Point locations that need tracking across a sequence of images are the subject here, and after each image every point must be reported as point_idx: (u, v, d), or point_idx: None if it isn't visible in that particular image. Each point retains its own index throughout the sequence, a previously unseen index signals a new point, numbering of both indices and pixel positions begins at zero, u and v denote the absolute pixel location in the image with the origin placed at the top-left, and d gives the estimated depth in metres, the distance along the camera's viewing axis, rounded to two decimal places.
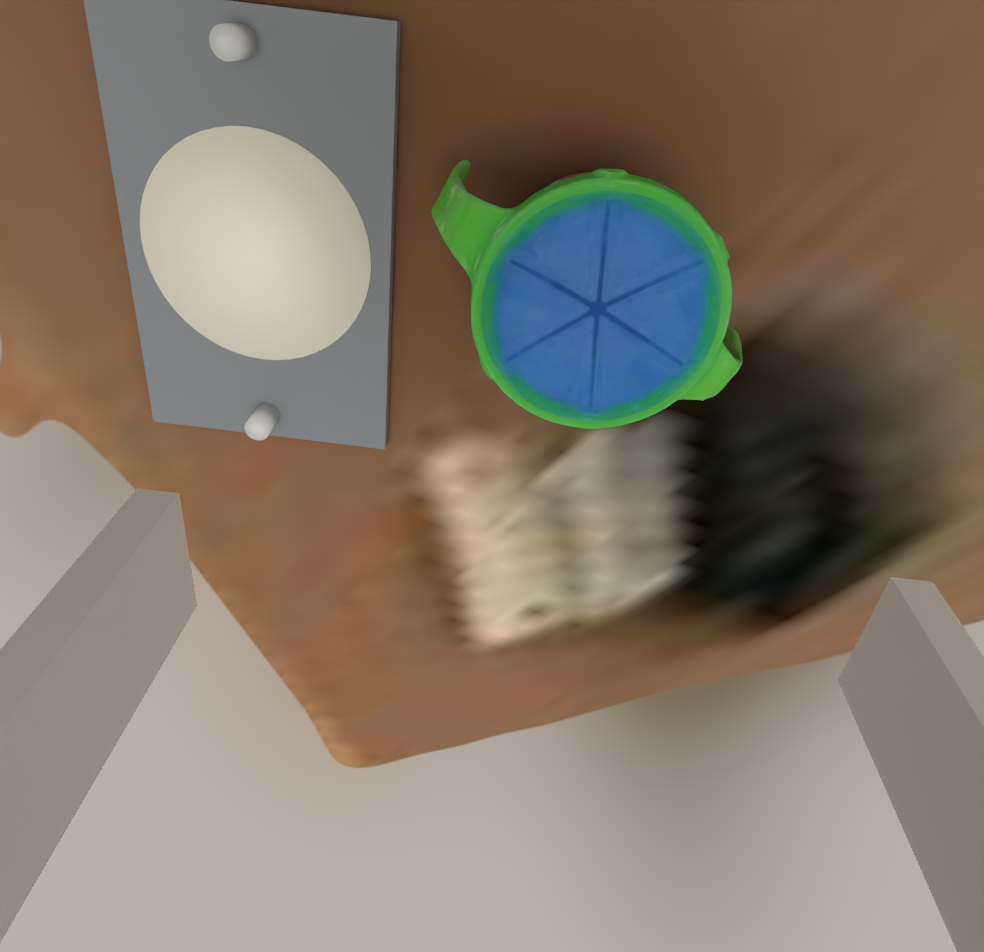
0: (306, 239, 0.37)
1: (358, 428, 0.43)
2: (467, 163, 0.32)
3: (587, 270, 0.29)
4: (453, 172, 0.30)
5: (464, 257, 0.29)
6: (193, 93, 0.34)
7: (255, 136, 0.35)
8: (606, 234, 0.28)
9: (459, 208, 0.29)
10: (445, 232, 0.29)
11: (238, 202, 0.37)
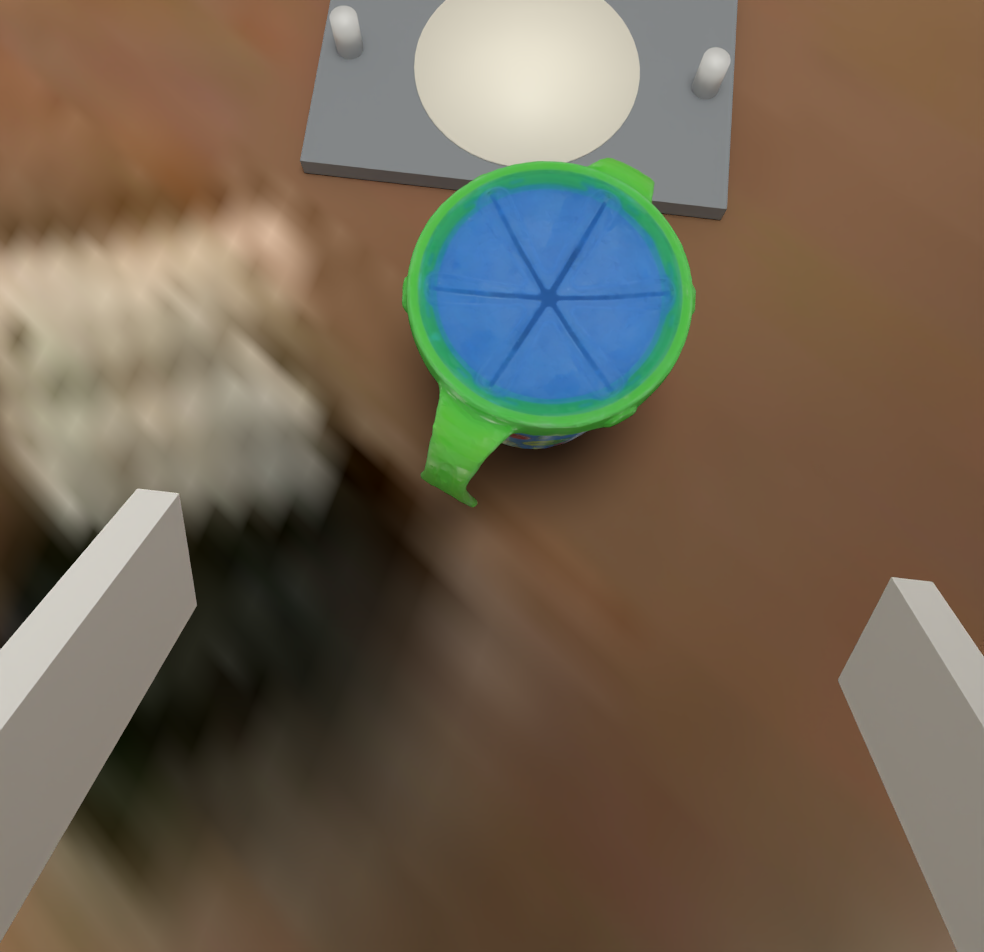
0: (541, 112, 0.38)
1: (328, 135, 0.38)
2: None
3: (592, 283, 0.27)
4: None
5: (601, 166, 0.28)
6: (663, 43, 0.39)
7: (631, 85, 0.39)
8: (632, 296, 0.27)
9: (641, 173, 0.29)
10: (616, 160, 0.29)
11: (573, 60, 0.39)
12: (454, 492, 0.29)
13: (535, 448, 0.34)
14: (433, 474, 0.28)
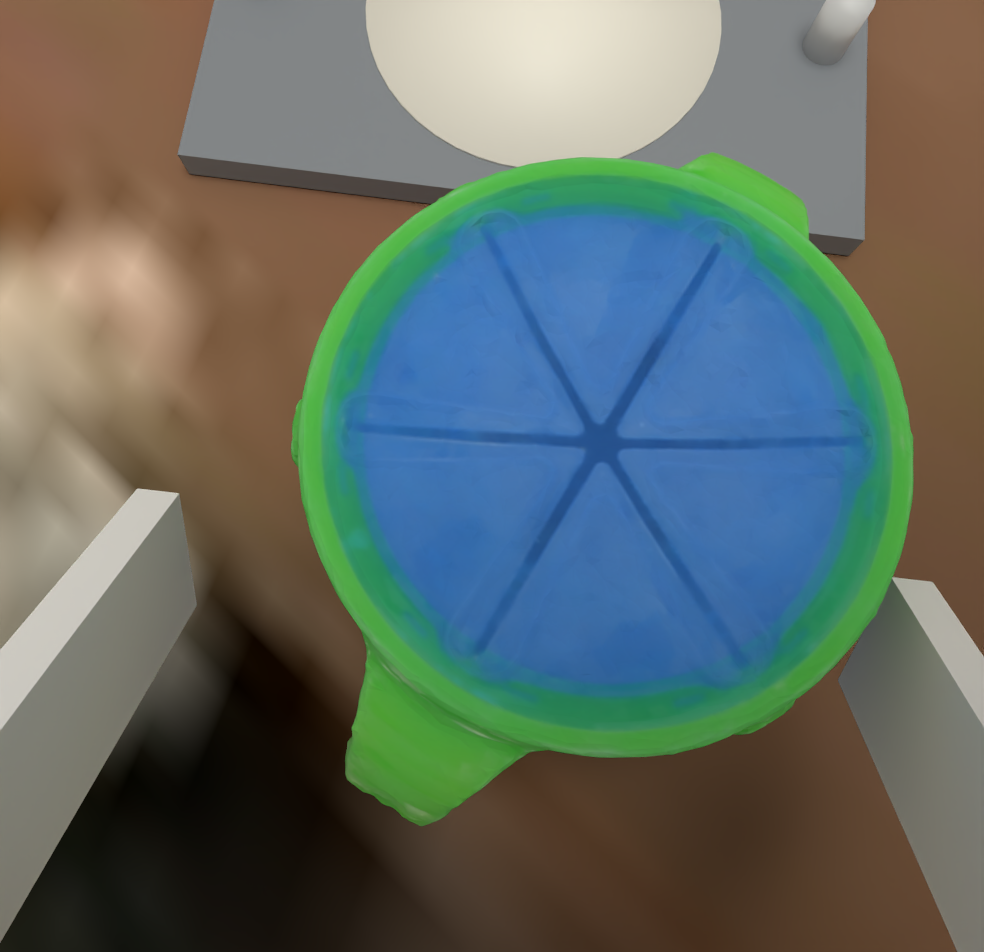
0: (567, 82, 0.24)
1: (225, 115, 0.24)
2: None
3: (692, 412, 0.13)
4: None
5: (706, 168, 0.14)
6: None
7: (707, 42, 0.25)
8: (780, 445, 0.13)
9: (777, 183, 0.15)
10: (727, 158, 0.15)
11: (616, 2, 0.25)
12: None
13: None
14: (361, 790, 0.14)
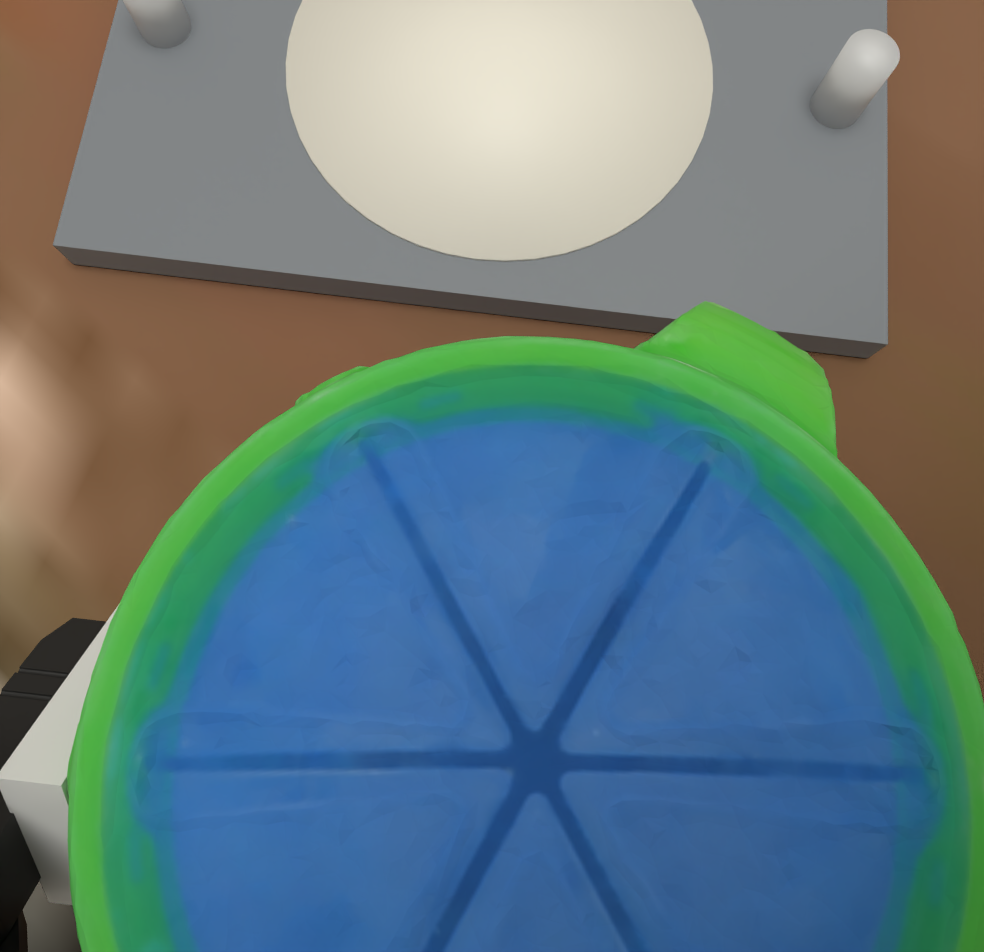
0: (527, 152, 0.20)
1: (113, 195, 0.19)
2: None
3: (668, 714, 0.09)
4: None
5: (689, 339, 0.10)
6: (755, 24, 0.21)
7: (696, 101, 0.21)
8: (798, 771, 0.09)
9: (788, 346, 0.11)
10: (719, 309, 0.11)
11: (587, 54, 0.21)
12: None
13: None
14: None
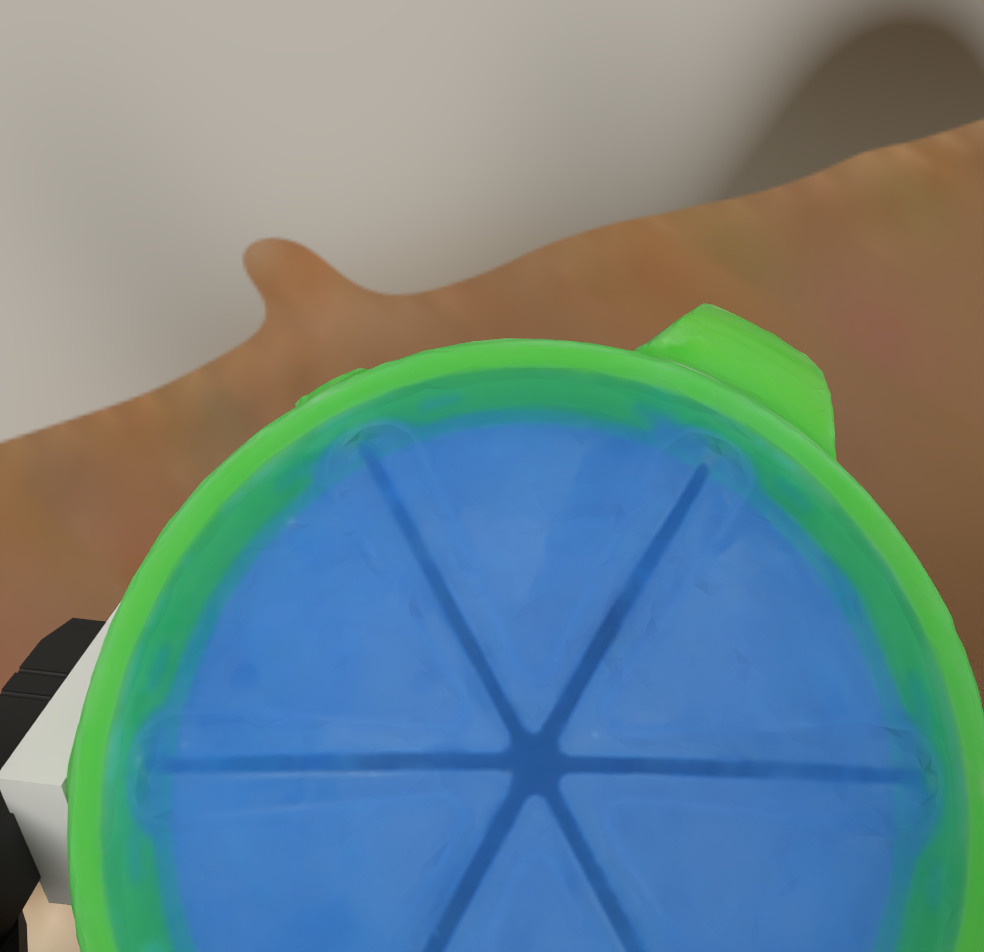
0: None
1: None
2: None
3: (668, 716, 0.09)
4: None
5: (687, 341, 0.10)
6: None
7: None
8: (798, 774, 0.09)
9: (787, 348, 0.11)
10: (719, 311, 0.11)
11: None
12: None
13: None
14: None
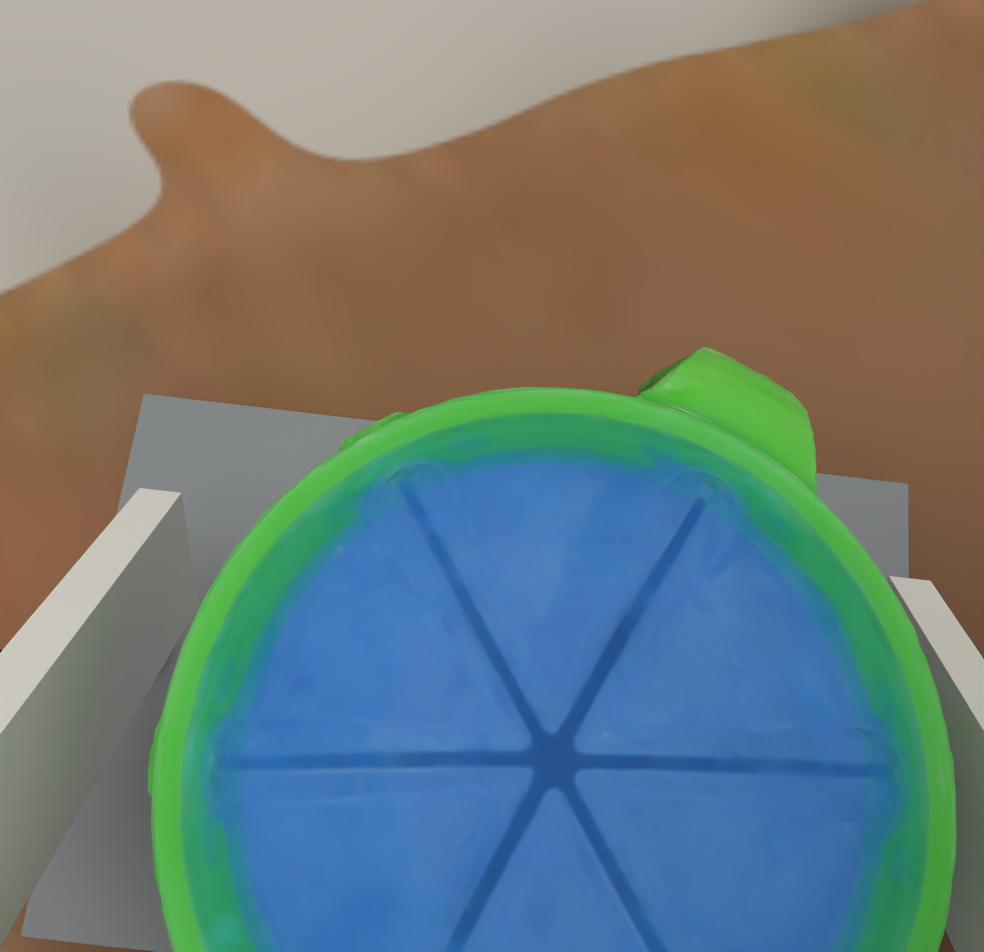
0: None
1: (85, 870, 0.18)
2: None
3: (669, 719, 0.10)
4: None
5: (686, 386, 0.11)
6: None
7: None
8: (782, 769, 0.10)
9: (775, 389, 0.12)
10: (714, 355, 0.12)
11: None
12: None
13: None
14: None
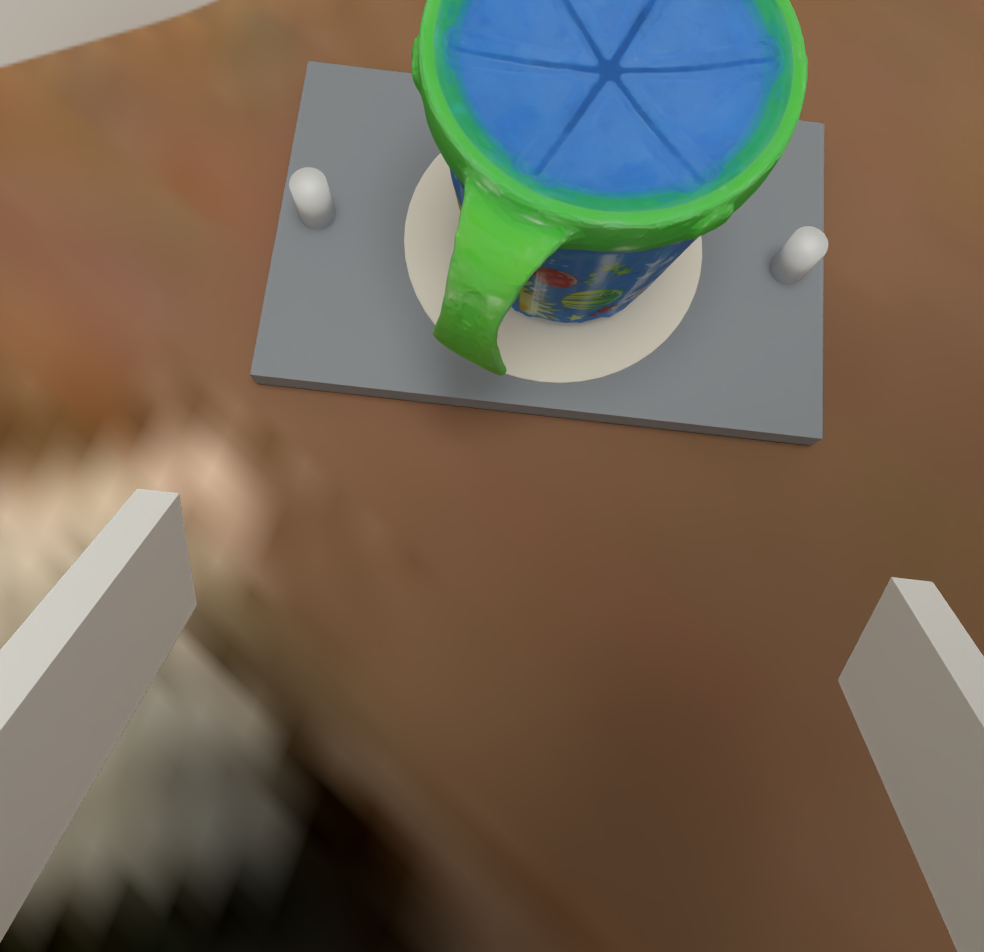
0: None
1: (289, 338, 0.28)
2: None
3: (667, 51, 0.20)
4: None
5: None
6: None
7: (690, 265, 0.29)
8: (724, 66, 0.20)
9: None
10: None
11: None
12: (480, 342, 0.21)
13: (574, 318, 0.27)
14: (453, 314, 0.21)
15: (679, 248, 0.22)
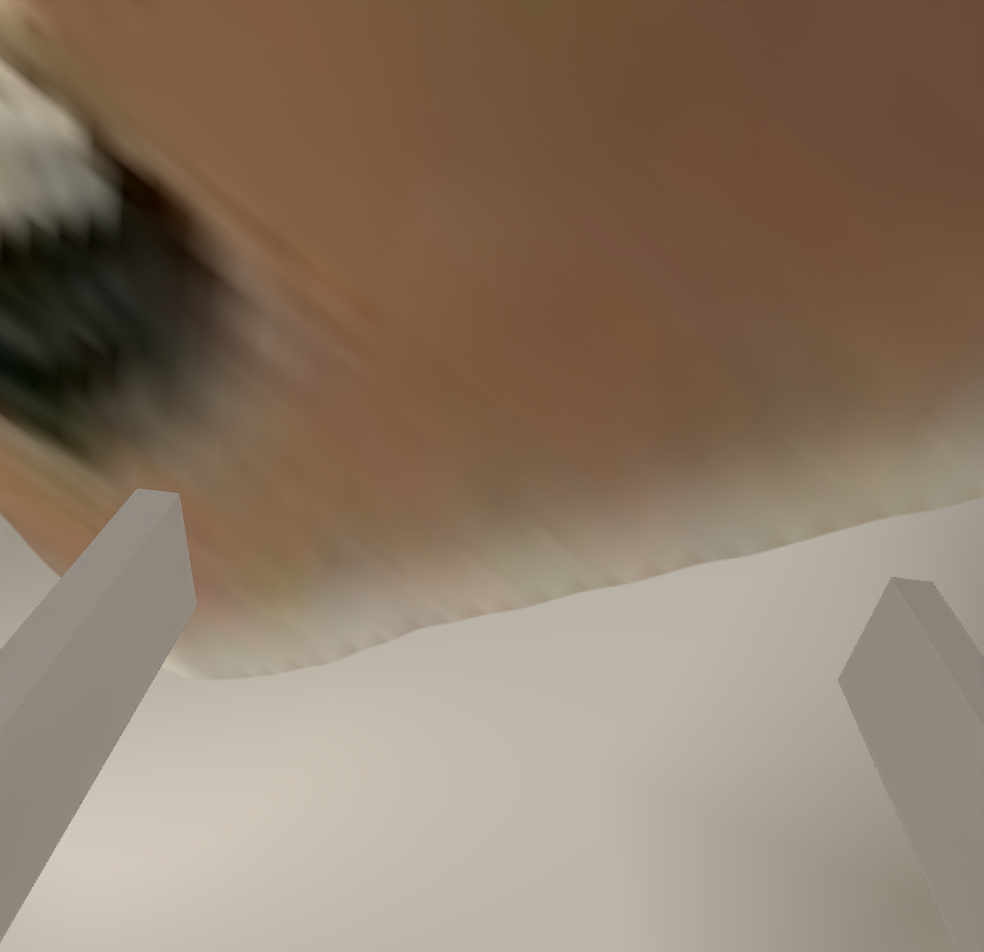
0: None
1: None
2: None
3: None
4: None
5: None
6: None
7: None
8: None
9: None
10: None
11: None
12: None
13: None
14: None
15: None
